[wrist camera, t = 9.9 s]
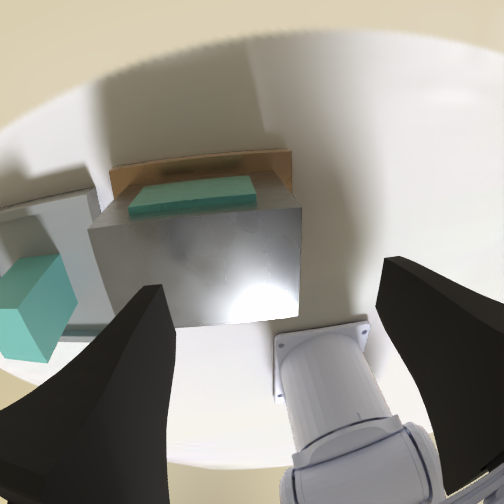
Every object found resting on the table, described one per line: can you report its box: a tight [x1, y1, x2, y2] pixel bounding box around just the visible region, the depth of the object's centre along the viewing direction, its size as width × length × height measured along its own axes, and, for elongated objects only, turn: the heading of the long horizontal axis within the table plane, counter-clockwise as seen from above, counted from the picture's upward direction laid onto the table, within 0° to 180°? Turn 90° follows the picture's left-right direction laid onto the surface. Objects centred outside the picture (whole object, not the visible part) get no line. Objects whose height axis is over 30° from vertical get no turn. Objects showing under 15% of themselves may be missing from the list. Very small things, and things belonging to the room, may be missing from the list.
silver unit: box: [87, 149, 302, 328], centre depth 15 cm, size 7×10×7 cm
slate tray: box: [0, 187, 115, 342], centre depth 18 cm, size 11×11×2 cm
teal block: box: [0, 254, 78, 363], centre depth 15 cm, size 4×4×6 cm
